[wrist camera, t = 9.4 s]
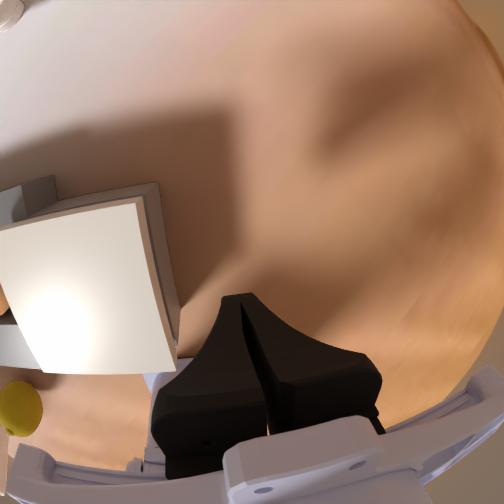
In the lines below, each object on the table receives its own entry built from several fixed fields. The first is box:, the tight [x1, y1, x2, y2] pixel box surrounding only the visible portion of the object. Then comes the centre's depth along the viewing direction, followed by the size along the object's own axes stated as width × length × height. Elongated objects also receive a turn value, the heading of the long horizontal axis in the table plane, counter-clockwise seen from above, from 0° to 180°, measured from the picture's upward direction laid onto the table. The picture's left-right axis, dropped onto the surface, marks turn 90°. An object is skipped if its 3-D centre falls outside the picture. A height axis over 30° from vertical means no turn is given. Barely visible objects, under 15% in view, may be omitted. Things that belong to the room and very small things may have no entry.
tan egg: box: [0, 283, 10, 315], centre depth 16 cm, size 4×4×4 cm
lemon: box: [0, 381, 43, 437], centre depth 19 cm, size 6×6×8 cm
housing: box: [0, 175, 181, 369], centre depth 17 cm, size 22×14×4 cm, turn 94°
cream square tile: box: [0, 196, 177, 374], centre depth 14 cm, size 10×10×2 cm
